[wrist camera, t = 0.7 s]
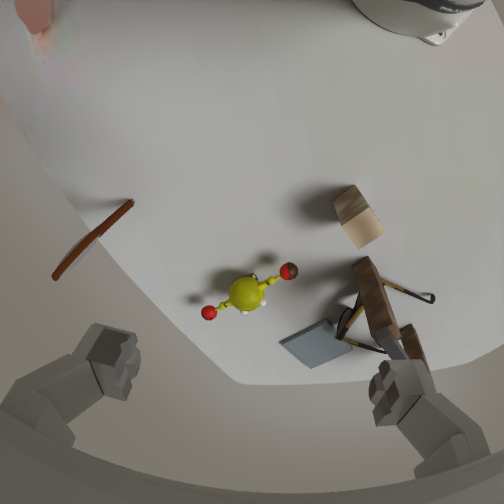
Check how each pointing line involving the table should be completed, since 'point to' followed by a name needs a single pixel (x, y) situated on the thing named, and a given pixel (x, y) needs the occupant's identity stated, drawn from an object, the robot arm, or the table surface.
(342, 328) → the sunglasses
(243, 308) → the toy figure
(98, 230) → the magnifying glass
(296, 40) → the table surface
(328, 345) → the pad
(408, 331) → the rod stand
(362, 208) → the block
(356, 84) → the table surface
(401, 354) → the rod
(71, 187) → the table surface
